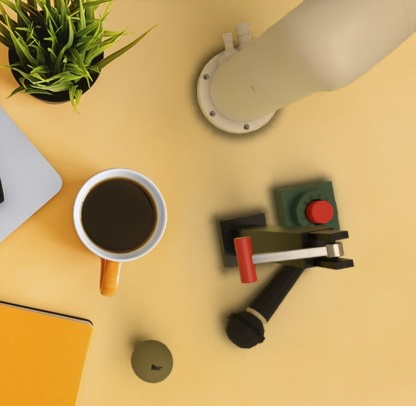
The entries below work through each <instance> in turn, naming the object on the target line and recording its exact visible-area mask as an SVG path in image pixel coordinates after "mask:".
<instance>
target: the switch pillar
mask: <svg viewBox="0 0 416 406" xmlns="http://www.w3.org/2000/svg"><path fill="white" fill-rule="evenodd" d="M216 225H217V231H218V237H219V242H220V250H221V254H222V260H223V266H224V268H233V267H234V268H235V267H238V261H237V255H236V250H235V244H234V239H235V238H239V237H250V238H251V243H252V249H253V254H257V253H265V252H274V251H282V250H290V249H299V248H307V247H315V246H323V245H324V244H325V243H329V242H337V241H342V240H345V239H346V240H347V239H349V238H350V236H349V235H350V234H349V231H348V230H343V229H342V230H341V229H340V230H334V229H333V227H308V226H280V224H279V225H277V224H275V225H273V224H267V220H266V215H265V213H264V212H260V213H253V214H248V215H241V216H236V217H230V218H225V219H220V220H216ZM271 263H273V264H279V265H283V266H286V265H289V266H294V267H300V268H305V270H307V269H311V268H321V269H327V270H328V269H330V270H334V271H338V270H344V269H345V270H346V269H349V268H354V267H355V263H354V259H353V258H345V257H326V256H319V257H311V258H302V259H293V260H285V261H276V262H271Z"/></svg>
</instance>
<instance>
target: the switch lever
mask: <svg viewBox="0 0 416 406" xmlns="http://www.w3.org/2000/svg"><path fill="white" fill-rule="evenodd" d="M234 244H235V250H236V255H237V261H238V266H237V267H238V272H239V278H240V283H241V284H253V283H254V284H255V283H257V282H258V281H259V279H258V271H257V267H256V265H258V264H266V263H272V262H276V261H285V260H293V259H302V258H311V257H319V256H326V257H339V258H341V257H344V256H345V249H344V243H343V241H336V242H329V243H325V244H324V245H323V246H315V247H307V248H299V249H290V250H282V251H274V252H265V253H257V254H253V249H252V243H251V238H250V237H239V238H235V239H234Z"/></svg>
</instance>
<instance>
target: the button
mask: <svg viewBox="0 0 416 406" xmlns="http://www.w3.org/2000/svg"><path fill="white" fill-rule="evenodd" d="M333 212H334V211H333V207H332V206H331V204H330V203H328V202H326V201H313V202H311V203H310V204H309V205H308V206H307V208H306V216H307V218H308V219H309V220H310V221H311V222H313V223H327V222H329V221H330V220H331V219H332V217H333Z"/></svg>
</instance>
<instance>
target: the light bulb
mask: <svg viewBox="0 0 416 406" xmlns="http://www.w3.org/2000/svg"><path fill="white" fill-rule="evenodd" d="M173 357H174V356H173V354H172V352H171V350H170V348H169V347H168V346H167V345H166V344H165V343H163V342H161V341H160V340H156V339H146V340H139V341H136V343H135V344H134V346H133V350H132V352H131V356H130V366H131V369H132V371H133V372H134V374H135V376H136V377H137V378H139V380H141V381H142V382H145V383H148V384H157V383H162V382H163V381H165V380H166V379H168V378H169V376H170V375H171V373H172V371H173V368H174V358H173Z"/></svg>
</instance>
